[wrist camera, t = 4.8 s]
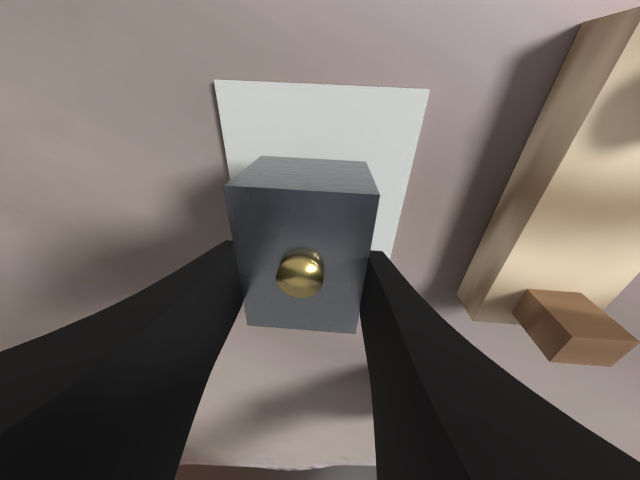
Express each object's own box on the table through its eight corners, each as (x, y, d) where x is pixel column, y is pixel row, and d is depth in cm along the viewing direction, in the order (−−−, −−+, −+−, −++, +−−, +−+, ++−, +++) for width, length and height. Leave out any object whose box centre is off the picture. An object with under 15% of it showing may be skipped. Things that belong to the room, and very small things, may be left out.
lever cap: (351, 272, 13) (356, 342, 10) (270, 267, 13) (244, 333, 10) (366, 161, 10) (382, 200, 6) (261, 155, 10) (217, 190, 7)
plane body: (554, 300, 17) (637, 380, 13) (456, 293, 18) (500, 369, 13) (765, 28, 10) (1206, -35, 5) (582, 22, 10) (820, -44, 5)
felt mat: (382, 282, 18) (383, 286, 17) (247, 272, 18) (245, 276, 18) (427, 89, 11) (430, 89, 11) (217, 79, 12) (213, 79, 11)
